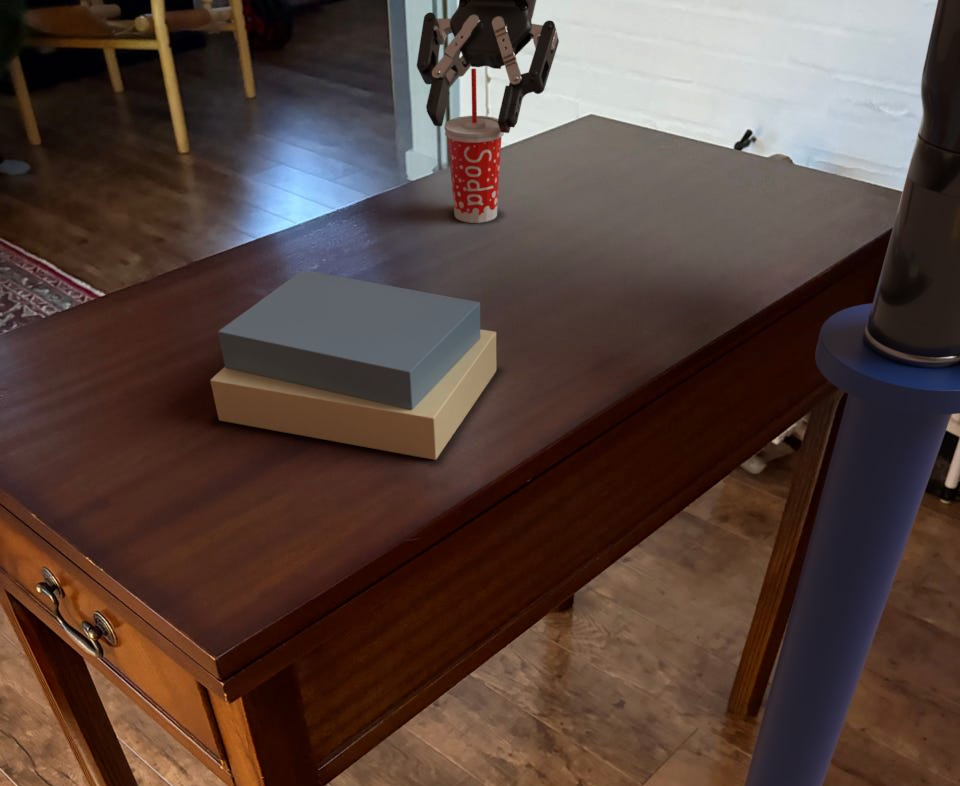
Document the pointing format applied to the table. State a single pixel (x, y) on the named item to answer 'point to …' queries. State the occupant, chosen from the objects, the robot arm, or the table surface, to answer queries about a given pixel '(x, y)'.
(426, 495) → the table surface
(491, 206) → the beverage cup
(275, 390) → the book stack
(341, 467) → the table surface
